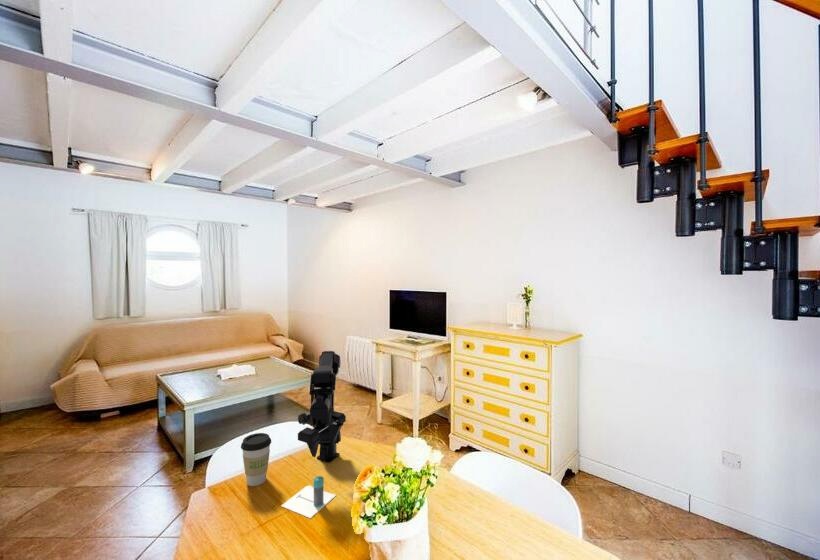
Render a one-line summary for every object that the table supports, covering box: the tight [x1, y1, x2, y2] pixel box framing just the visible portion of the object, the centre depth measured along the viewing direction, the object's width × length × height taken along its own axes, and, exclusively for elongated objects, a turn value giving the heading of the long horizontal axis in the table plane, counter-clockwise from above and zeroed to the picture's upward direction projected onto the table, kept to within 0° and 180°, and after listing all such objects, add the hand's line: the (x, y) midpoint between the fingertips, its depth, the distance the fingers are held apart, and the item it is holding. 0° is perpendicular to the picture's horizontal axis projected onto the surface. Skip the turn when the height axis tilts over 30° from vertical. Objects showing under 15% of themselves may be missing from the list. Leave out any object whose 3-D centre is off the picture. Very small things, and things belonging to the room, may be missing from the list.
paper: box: [280, 485, 337, 519], centre depth 114 cm, size 12×12×1 cm
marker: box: [313, 475, 325, 507], centre depth 112 cm, size 3×3×8 cm
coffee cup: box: [240, 432, 272, 487], centre depth 125 cm, size 10×10×15 cm
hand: (323, 450), depth 123 cm, fingers open, 9 cm apart
